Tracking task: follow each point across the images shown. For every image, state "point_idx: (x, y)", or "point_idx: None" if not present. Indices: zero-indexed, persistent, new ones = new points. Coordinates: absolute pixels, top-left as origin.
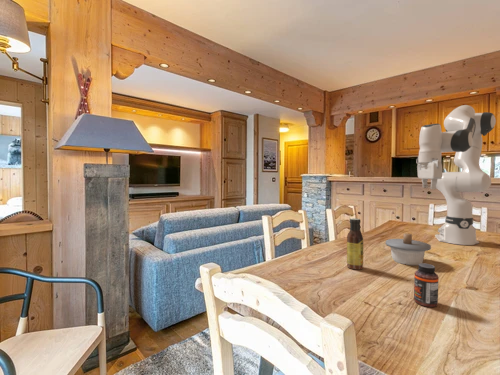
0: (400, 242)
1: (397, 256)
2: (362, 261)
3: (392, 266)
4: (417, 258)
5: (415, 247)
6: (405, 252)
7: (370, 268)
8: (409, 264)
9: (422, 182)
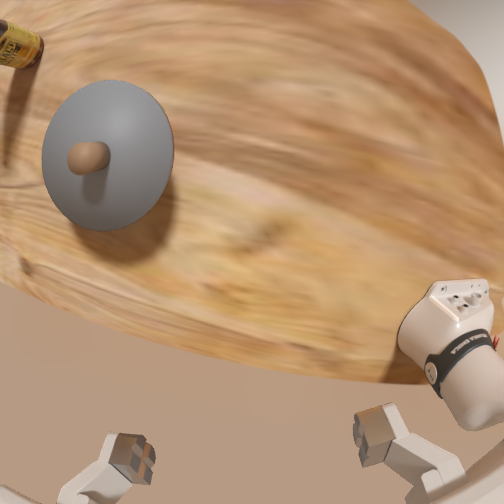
0: (102, 131)
1: None
2: (13, 67)
3: None
4: None
5: (57, 182)
6: None
7: (36, 80)
8: None
9: (424, 451)
